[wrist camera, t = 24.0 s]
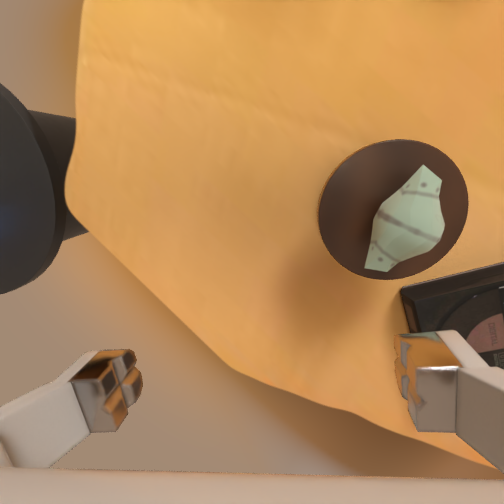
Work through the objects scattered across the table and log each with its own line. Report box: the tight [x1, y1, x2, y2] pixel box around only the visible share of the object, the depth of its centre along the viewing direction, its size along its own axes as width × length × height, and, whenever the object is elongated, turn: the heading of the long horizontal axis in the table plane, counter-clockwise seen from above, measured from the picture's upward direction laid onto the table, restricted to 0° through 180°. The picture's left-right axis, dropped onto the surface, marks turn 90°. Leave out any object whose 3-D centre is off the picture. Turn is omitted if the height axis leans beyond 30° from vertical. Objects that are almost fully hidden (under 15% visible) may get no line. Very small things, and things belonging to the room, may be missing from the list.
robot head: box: [364, 165, 445, 272], centre depth 23 cm, size 8×4×7 cm, turn 158°
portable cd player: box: [401, 262, 504, 370], centre depth 36 cm, size 16×17×4 cm
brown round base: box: [317, 139, 468, 280], centre depth 30 cm, size 12×12×10 cm
